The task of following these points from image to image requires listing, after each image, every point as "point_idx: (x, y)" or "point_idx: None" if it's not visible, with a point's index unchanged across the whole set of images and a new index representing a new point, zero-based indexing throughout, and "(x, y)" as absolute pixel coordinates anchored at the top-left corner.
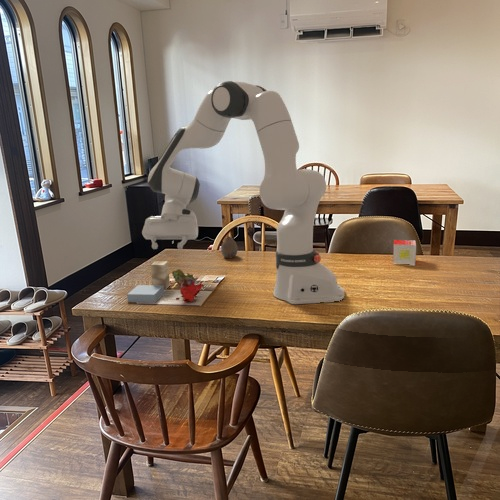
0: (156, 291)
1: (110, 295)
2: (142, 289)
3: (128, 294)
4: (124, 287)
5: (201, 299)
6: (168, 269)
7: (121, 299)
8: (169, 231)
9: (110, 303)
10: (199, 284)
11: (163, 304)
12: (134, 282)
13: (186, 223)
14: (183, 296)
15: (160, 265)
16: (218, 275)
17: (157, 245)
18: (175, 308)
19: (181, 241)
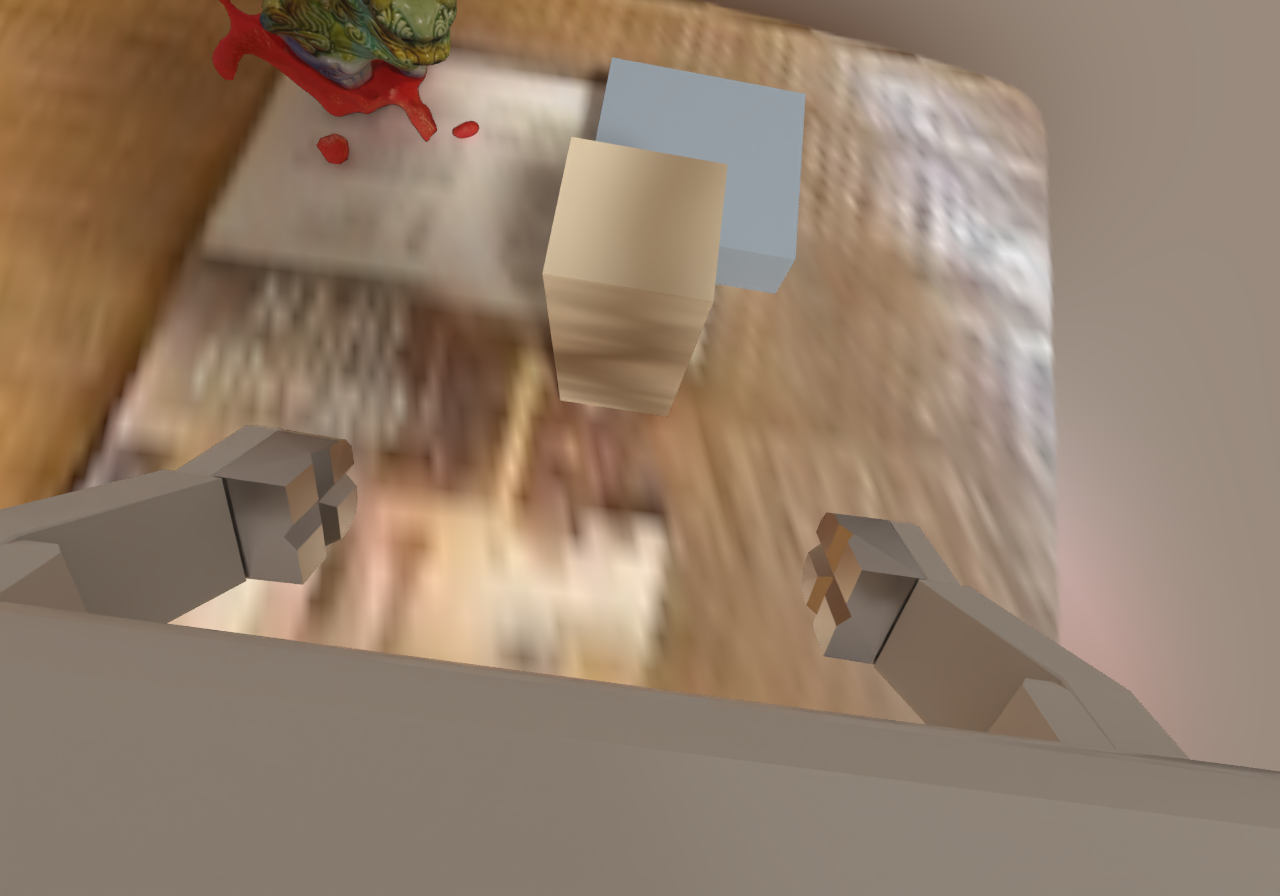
0: (609, 109)
1: (951, 261)
2: (726, 163)
3: (794, 92)
4: (928, 415)
5: (300, 108)
6: (551, 325)
7: (844, 183)
8: (442, 797)
9: (884, 132)
10: (245, 14)
11: (549, 71)
12: None
13: None
14: (423, 137)
15: (609, 149)
16: None
17: (823, 631)
18: (467, 10)
19: (161, 483)
